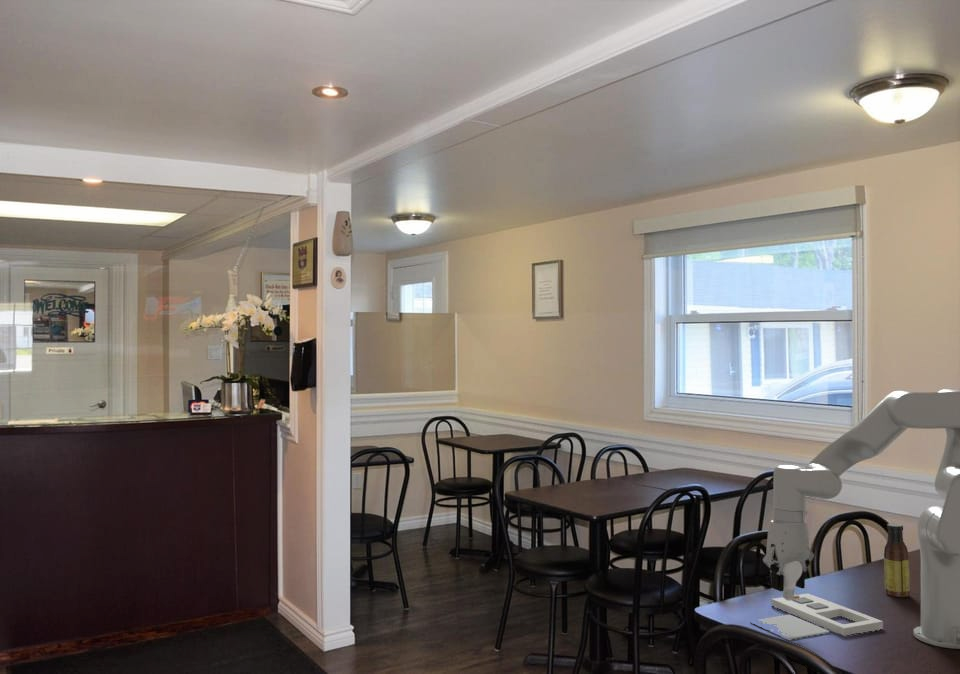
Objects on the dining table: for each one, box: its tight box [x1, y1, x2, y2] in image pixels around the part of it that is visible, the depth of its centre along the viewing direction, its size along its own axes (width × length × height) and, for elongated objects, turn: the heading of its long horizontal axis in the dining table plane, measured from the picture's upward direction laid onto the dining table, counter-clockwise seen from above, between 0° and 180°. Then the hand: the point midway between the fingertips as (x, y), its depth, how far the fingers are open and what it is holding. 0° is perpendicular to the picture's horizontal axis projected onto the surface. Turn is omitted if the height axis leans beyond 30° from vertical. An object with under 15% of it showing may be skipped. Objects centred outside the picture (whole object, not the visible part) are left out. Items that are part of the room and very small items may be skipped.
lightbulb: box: [777, 561, 802, 601], centre depth 196 cm, size 6×6×11 cm
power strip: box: [770, 593, 884, 636], centre depth 203 cm, size 24×13×3 cm, turn 23°
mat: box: [758, 613, 831, 640], centre depth 195 cm, size 13×13×1 cm
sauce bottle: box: [883, 522, 911, 598], centre depth 223 cm, size 7×6×20 cm
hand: (788, 587), depth 196 cm, fingers closed on lightbulb, 6 cm apart
